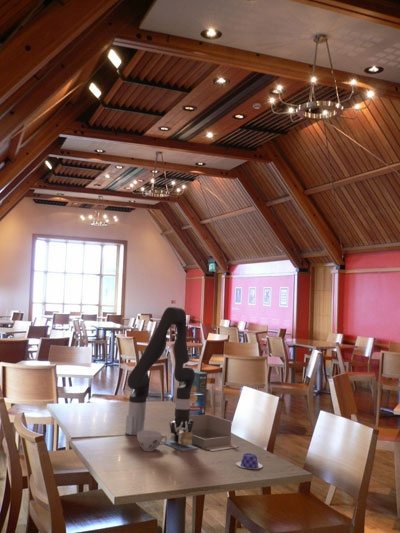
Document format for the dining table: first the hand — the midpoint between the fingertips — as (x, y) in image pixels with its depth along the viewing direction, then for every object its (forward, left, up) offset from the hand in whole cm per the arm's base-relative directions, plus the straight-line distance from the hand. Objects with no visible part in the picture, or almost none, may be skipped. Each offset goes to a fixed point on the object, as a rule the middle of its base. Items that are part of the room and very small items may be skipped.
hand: (180, 441), depth 283 cm
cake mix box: (+44, +49, -3) cm, 66 cm away
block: (0, +1, 0) cm, 1 cm away
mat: (0, +1, -2) cm, 2 cm away
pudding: (+9, -41, -3) cm, 42 cm away
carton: (+17, -2, -2) cm, 17 cm away
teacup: (-17, +1, -3) cm, 17 cm away
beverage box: (+21, +20, -3) cm, 29 cm away
